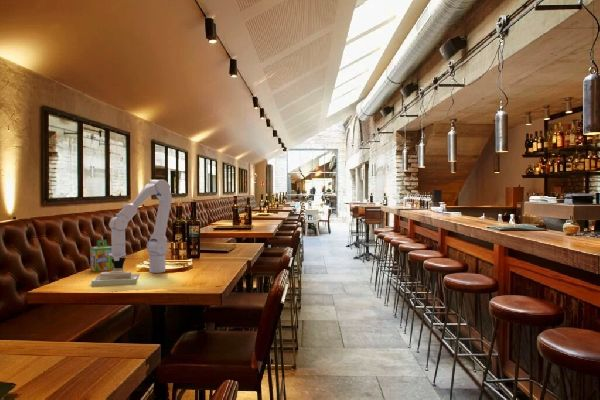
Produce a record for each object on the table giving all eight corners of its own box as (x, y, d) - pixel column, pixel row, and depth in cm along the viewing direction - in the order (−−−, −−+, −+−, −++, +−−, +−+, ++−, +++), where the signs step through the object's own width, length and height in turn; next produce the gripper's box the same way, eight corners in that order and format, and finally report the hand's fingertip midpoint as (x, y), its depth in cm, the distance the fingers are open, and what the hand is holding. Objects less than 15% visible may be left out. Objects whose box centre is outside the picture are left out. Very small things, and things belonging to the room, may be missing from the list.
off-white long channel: (93, 283, 195) (93, 278, 195) (137, 281, 200) (136, 276, 200) (91, 286, 191) (91, 281, 190) (136, 283, 195) (135, 278, 195)
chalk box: (96, 273, 222) (95, 242, 222) (89, 270, 229) (89, 240, 229) (115, 270, 228) (115, 240, 228) (109, 268, 235) (108, 238, 235)
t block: (104, 278, 206) (104, 268, 206) (133, 276, 209) (133, 267, 209) (99, 283, 195) (99, 274, 194) (130, 282, 198) (130, 272, 198)
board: (97, 277, 212) (97, 275, 212) (140, 275, 216) (140, 273, 216) (89, 288, 190) (89, 286, 190) (136, 286, 195) (136, 283, 195)
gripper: (111, 242, 215) (111, 271, 215) (106, 246, 201) (106, 278, 201) (127, 241, 216) (127, 271, 217) (123, 245, 202) (124, 277, 203)
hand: (118, 274), depth 209 cm, fingers closed
